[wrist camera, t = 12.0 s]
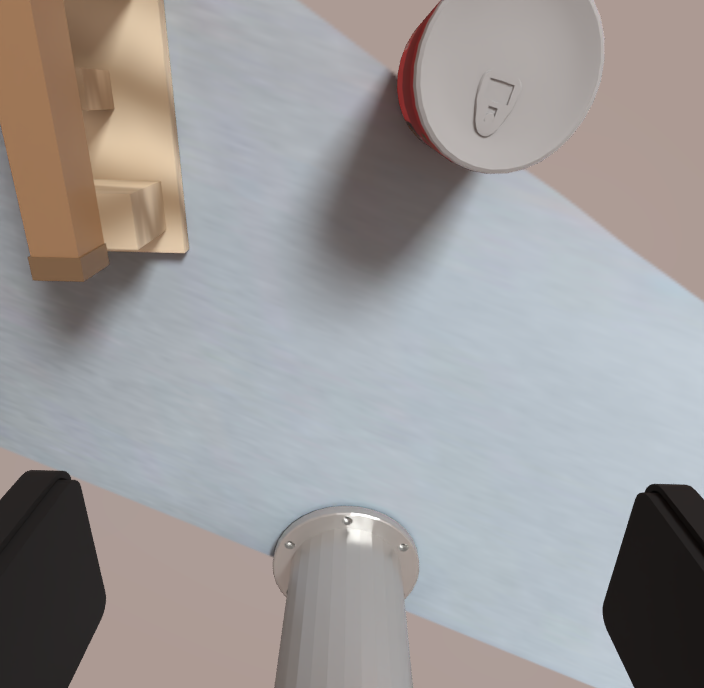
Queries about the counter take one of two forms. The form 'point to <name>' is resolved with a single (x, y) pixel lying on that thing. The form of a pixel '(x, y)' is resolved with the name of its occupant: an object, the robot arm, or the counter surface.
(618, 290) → the counter surface
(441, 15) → the canned food
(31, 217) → the frame bar
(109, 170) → the display stand
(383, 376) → the counter surface
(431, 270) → the counter surface
